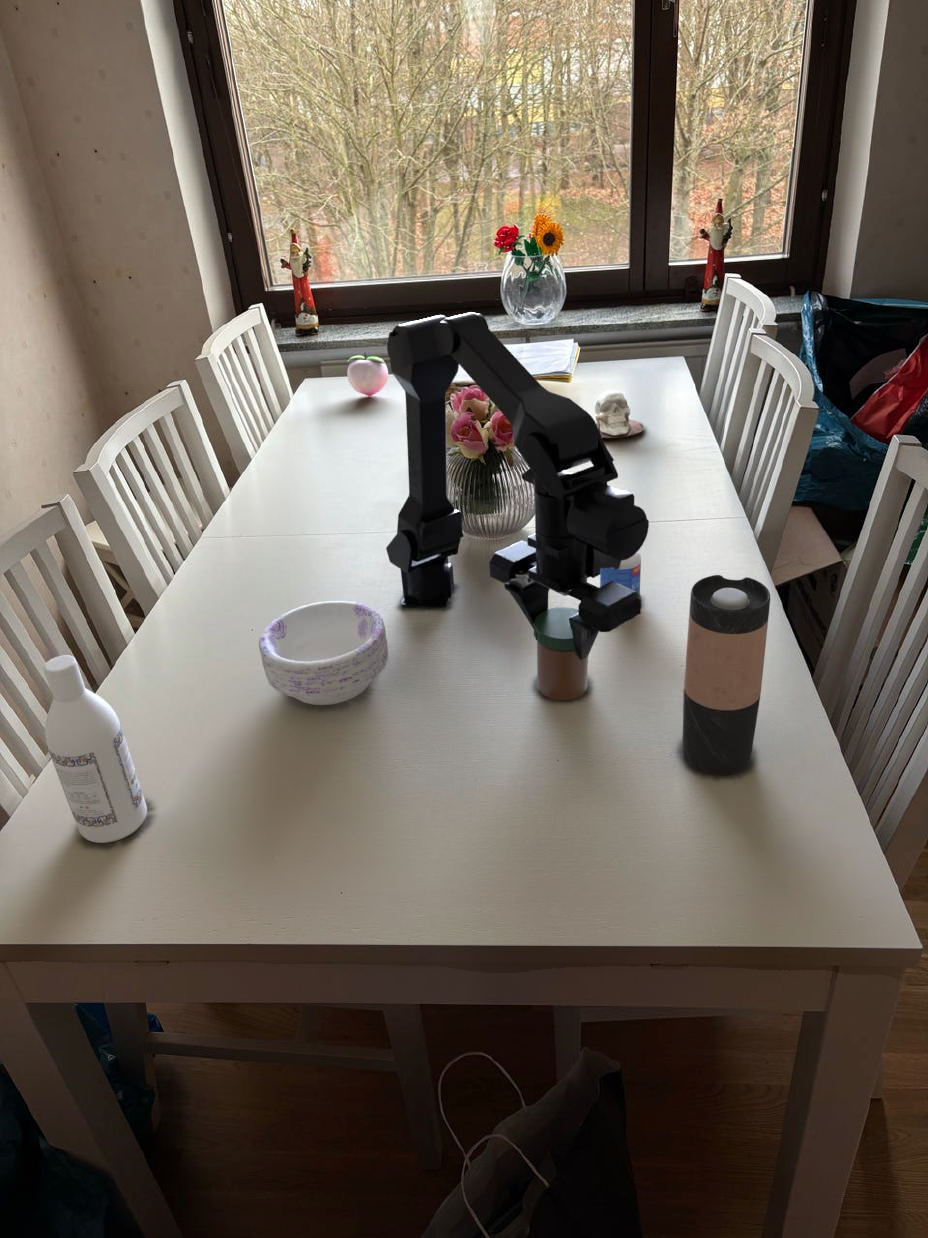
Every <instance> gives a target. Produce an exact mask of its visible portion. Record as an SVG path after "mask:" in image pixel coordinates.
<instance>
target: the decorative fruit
mask: <svg viewBox="0 0 928 1238" xmlns="http://www.w3.org/2000/svg"><path fill="white" fill-rule="evenodd" d="M363 354H364V355H354V356H351V357H349V358H348V360H347V361H346V362H347V363H349V362H350V361H351V362H350V363H349V365H348V368H347V371H346V373H347V380H348V383H349V384H350V386H351V388H352V389H353V390H354V391H355V392H357V393H358V394H362V395H365V396H368V397H372V396H374V395H376V394H377V393H379V392H380V391H381V390H383V388H384V387H385V386H386V384H387V383H388V379H389V370H388V367H387V363H386V361H385V360H384V359H382V358H381V357H379V356H368V357H367V353H366V352H365V351H364V352H363Z"/></svg>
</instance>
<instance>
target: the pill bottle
mask: <svg viewBox="0 0 928 1238" xmlns="http://www.w3.org/2000/svg"><path fill="white" fill-rule="evenodd" d="M641 568H642V556H641V553H640V550H638V551H637V552H636V553H635V555H633V556H632V557H630V558H629V559H626V560H622V561H621V564H620V568H619V569H614V568H601V569H600V575H599V587H601V586H603V585H605V584H607V583H609V582H611V581H613V582H616V583H618V584H620V585H622V586H625V587H627V588H629V589H631V590H634V591H636V592H637V593H638V594H639V595H641V573H642V571H641V570H642V569H641Z"/></svg>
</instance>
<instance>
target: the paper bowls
mask: <svg viewBox="0 0 928 1238" xmlns="http://www.w3.org/2000/svg"><path fill="white" fill-rule="evenodd" d="M386 633H387V630H386V626H385V623H384V620H383V618H382V616H381V615H380V614H379V612H378V611H376V610H375V609H373V608H372V607H370V606H368V605H366V604H363V603H359V602H355V601H347V600H325V601H319V602H312V603H309V604H305V605H302V606H298V607H296V608H293V609H292V610H289V611H286V612H285V613H282V614H281V615H279V616H278V617H276V618H275V619H274V620H272V621H271V622H270V623H269V624H268V625H267V626H266V627H265V628H264V630H263V631H262V633H261V635H260V637H259V641H258V649H259V652H260V653H259V654H260V658H261V662H262V667H263V670H264V674H265V677H266V679H267V682H268V684H269V686H271V687H272V688H273V689H274V690H275V691H276V692H278V693H280V694H282V695H284V696H288V697H293V698H295V699H296V700H298V701H300V702H302V703H304V704H309V705H315V706H329V705H335V704H340V703H343V702H347V701H349V700H351V699H353V698H355V697H357V696H358V695H360V694H361V693H363V692H364V691H365V690H366V689H367V688H368V687H369V685H370V684H371V682H372V681H374V680H375V679H376V678H377V677H379V675H380V674H381V673H382V672H383V671H384V669H385V668H386V666H387V664H388V660H389V647H388V641H387V634H386Z"/></svg>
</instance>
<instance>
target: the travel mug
mask: <svg viewBox="0 0 928 1238" xmlns="http://www.w3.org/2000/svg"><path fill="white" fill-rule="evenodd" d="M770 607H771V593H770V590H769V588H768V587H767V586H766V585H765V584H764V583H762V582H760V581H758V580H756V579H754V578H752V577H747V576H745V577H744V578H742V579H729V578H726V577H724V576H723V575H721V574H713V575H710V576H709V575H708V576H706V577H703V578H701V579H699V580H697V581H696V582H695V583H694V584H693V585H692V587H691V590H690V598H689V611H688V612H689V613H688V627H687V640H686V650H685V652H686V653H685V667H684V678H683V702H682V706H683V708H682V755H683V758H684V760H685V762H687V764H688V765H689V766H691V767H692V768H694V769H695V770H697V771H699V772H701V773H704V774H707V775H712V776H729V775H734V774H737V773H739V772H741V771H743V770H745V769H746V768H747V766H748V765H749V764H750V761H751V757H752V751H753V745H754V741H755V740H754V738H755V734H756V726H757V720H758V714H759V707H760V702H761V701H760V700H761V694H762V686H763V676H764V675H763V674H764V665H765V655H766V646H767V635H768V625H769V616H770Z"/></svg>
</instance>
